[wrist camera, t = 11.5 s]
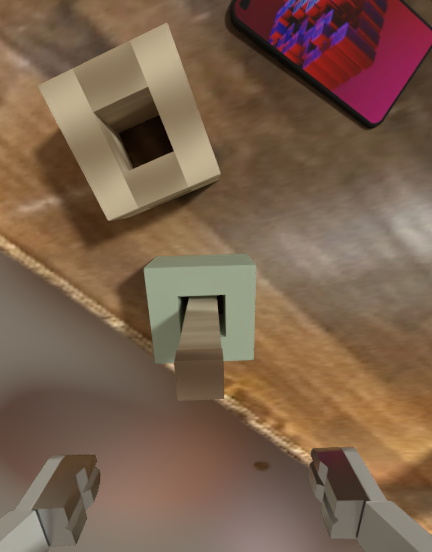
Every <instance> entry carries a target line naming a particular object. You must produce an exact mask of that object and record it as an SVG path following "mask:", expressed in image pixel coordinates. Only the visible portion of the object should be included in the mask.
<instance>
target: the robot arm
mask: <svg viewBox="0 0 432 552" xmlns="http://www.w3.org/2000/svg"><path fill="white" fill-rule="evenodd" d="M311 457H312V460H313V461H312V462H311V463H310V466H309V474H310V481H311V485H312V488H313V491H314V494H315V497H316V498H317V499H318V500H319V501H320V502H321V503H322V508H321V514H322V517H323V520H324V523H325V525H326V528H327V531H328V534H329V536H330V538H331V539H357V542H358V543H359V544H360V546H361V547H362V548H363V549H364V550H365V552H432V535H431V534H430V533H428V532H427V531H426V530H425V529H424V528H423V527H422V526H420V525H419V524H418V523H417V522H416V521H415V520H413V519H412V518H411V517H410V516H409V515H408V514H406V513H405V512H404V511H403V510H402V509H401V508H399V507H398V506H397V505H396V504H395V503H394V502H392V501H387V500H386V498H385V496H384V495H383V493H382V491H381V490H380V488H379V486H378V485H377V483H376V481H375V480H374V478H373V476H372V475H371V473H370V471H369V470H368V468H367V466H366V465H365V463H364V461H363V460H362V458H361V456H360V455H359V453H358V451H357V450H356V449H355V448H354V447H342V448H339V447H330V448H313V449H312V450H311ZM96 463H97V458H96V455H53V456H52V457H51V458H50V459H48V461H47V462H46V464H45V465H44V467H43V468H42V470H41V471H40V473H39V474H38V475H37V477H36V479H35V480H34V481H33V483H32V484H31V486H30V488H29V489H28V491H27V492H26V493H25V495H24V496H23V498H22V499H21V501H20V503H19V504H18V506H17V507H16V508H15V510H14V511H9V512H8V513H6V514H5V515H4V516H3V517H2V518H0V552H47V551H48V550H49V547H59V546H74V545H75V546H76V544H77V542H78V539H79V537H80V534H81V532H82V530H83V527H84V525H85V522H86V520H87V516H86V510H87V509H88V508H89V507H90V506H91V505H92V504H93V503H94V500H95V498H96V495H97V493H98V489H99V485H100V470H99V469H98V468H97V467H96V466H95V465H96Z"/></svg>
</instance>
